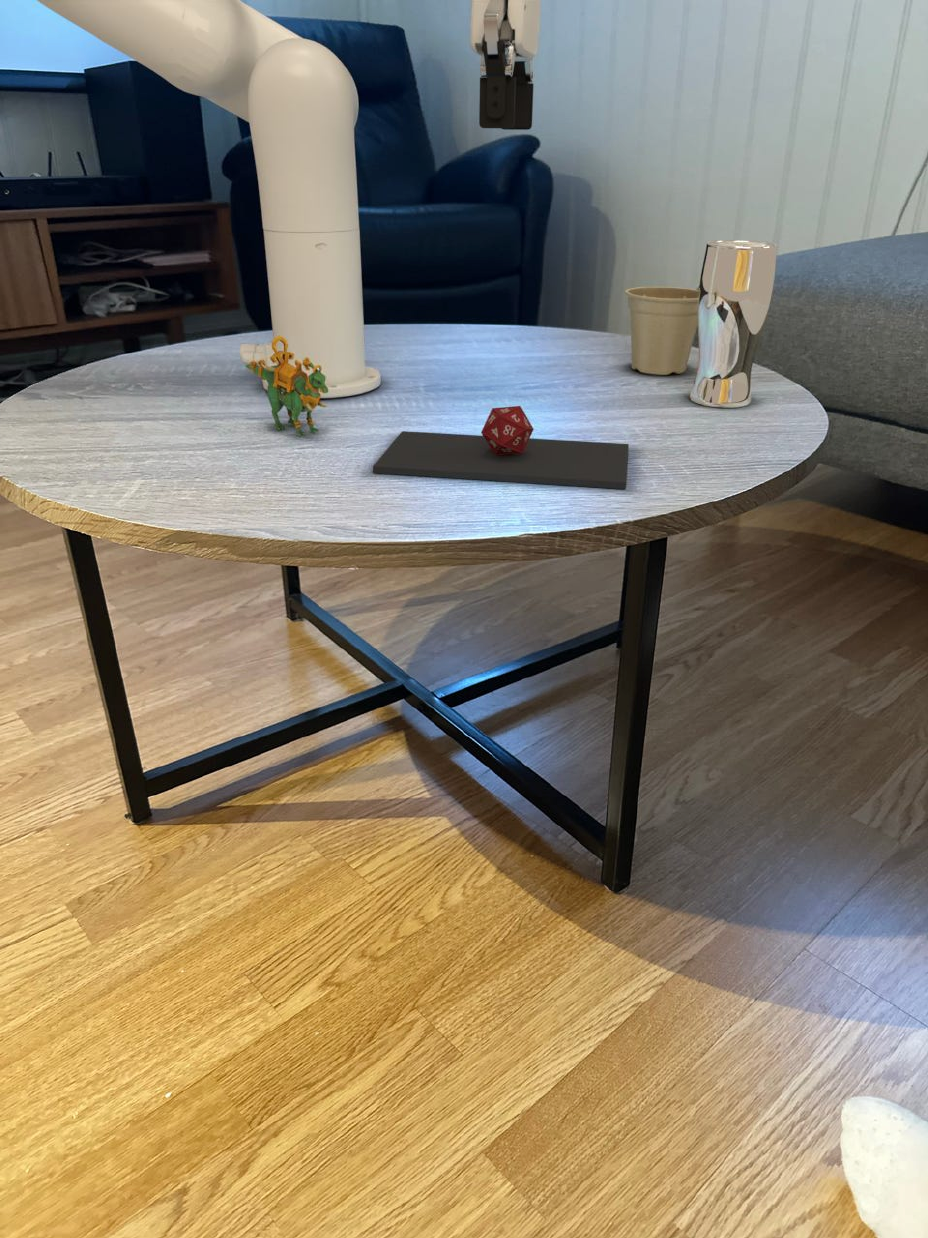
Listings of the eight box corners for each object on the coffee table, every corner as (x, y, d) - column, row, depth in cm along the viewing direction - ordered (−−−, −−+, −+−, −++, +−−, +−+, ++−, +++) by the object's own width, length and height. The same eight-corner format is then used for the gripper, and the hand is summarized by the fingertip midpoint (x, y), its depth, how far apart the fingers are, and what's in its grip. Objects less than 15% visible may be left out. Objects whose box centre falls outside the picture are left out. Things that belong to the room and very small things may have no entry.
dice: (475, 449, 76) (475, 401, 74) (526, 446, 77) (528, 399, 75) (486, 463, 73) (487, 413, 71) (539, 459, 74) (541, 410, 72)
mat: (372, 473, 72) (372, 465, 72) (402, 437, 81) (402, 430, 81) (625, 489, 69) (626, 481, 69) (628, 450, 78) (628, 443, 78)
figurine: (316, 444, 79) (309, 348, 75) (237, 418, 86) (227, 329, 82) (343, 437, 81) (338, 343, 77) (264, 412, 88) (255, 325, 84)
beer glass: (757, 411, 89) (783, 248, 82) (685, 407, 91) (705, 245, 84) (752, 394, 95) (776, 240, 88) (685, 390, 97) (703, 238, 90)
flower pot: (689, 361, 110) (698, 285, 106) (710, 379, 101) (720, 298, 97) (612, 361, 109) (618, 285, 105) (626, 379, 101) (634, 298, 97)
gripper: (490, -73, 87) (487, 129, 95) (447, -117, 72) (447, 127, 80) (568, -76, 86) (557, 130, 94) (540, -121, 71) (530, 127, 79)
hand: (506, 128), depth 87 cm, fingers open, 9 cm apart
